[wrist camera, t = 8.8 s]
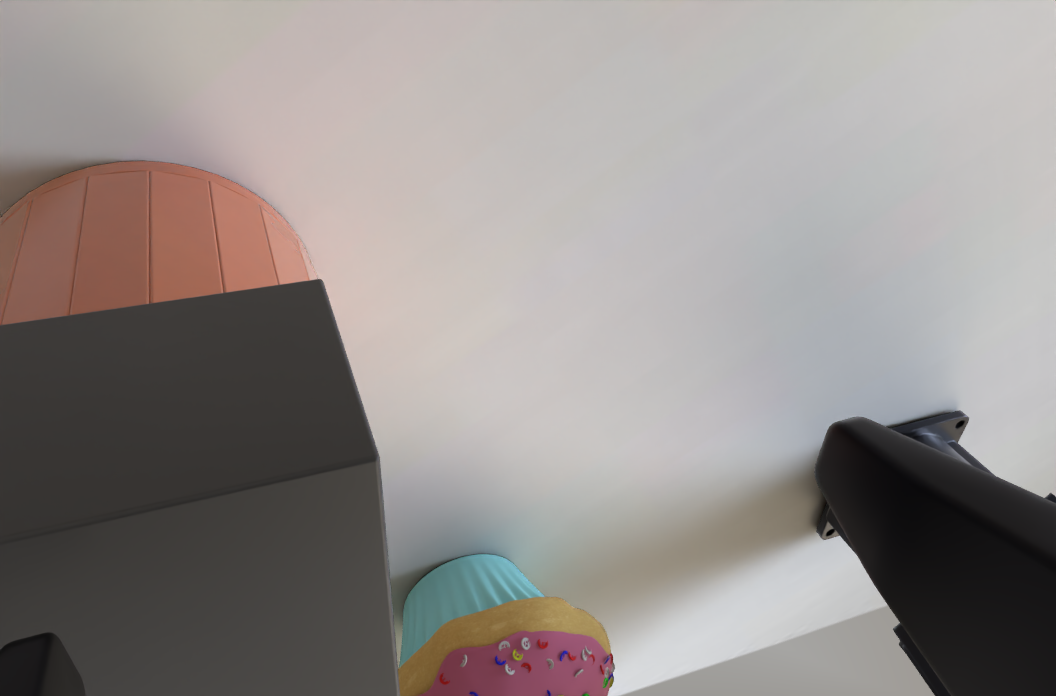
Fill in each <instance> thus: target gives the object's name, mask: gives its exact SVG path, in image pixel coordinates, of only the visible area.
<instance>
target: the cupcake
mask: <svg viewBox="0 0 1056 696" xmlns="http://www.w3.org/2000/svg"><path fill="white" fill-rule="evenodd" d="M614 669H615V666H614V663H613V655H612V653H611V649H610V643H609V639H608V636H607V634H606V631H605V629H604V628H603V626H602V625H601V624H600V623H599V622H598V621H597V620H596V619H595V618H594V617H593V616H591V615H590V614H589V613H587V612H586V611H584V610H581V609H578V608H573V607H572V606H570V605H569V604H568V603H567V602H566V601H564V600H563V599H561V598H558V597H545V596H544V595H543V594H542V593H541V592H540V591H539V590H538V589H537V588H536V587H535V586H534V585H533V584H532V583H531V582H530V581H529V580H528V579H527V578H526V577H525V576H524V575H523V574H522V573H521V572H520V570H519V569H518V568H517V567H516V566H515V565H514V564H513V563H512V562H511V561H509V560H507V559H506V558H503V557H501V556H497V555H491V554H476V555H469V556H465V557H461V558H458V559H455V560H452V561H450V562H447V563H445V564H443V565H441V566H439V567H437V568H436V569H434V570H433V571H431V572H430V573H428V574H427V575H426V576H424V577H423V578H422V579H421V580H420V581H419V582H418V583H417V584H416V585H415V586H414V588H413V589H412V590H411V592H410V593H409V595H408V597H407V599H406V601H405V605H404V610H403V633H402V647H401V656H400V664H399V669H398V677H399V688H400V696H607V695H608V691H609V688H610V687H611V686H612V684H613V681H614V677H613V673H612V672H614Z"/></svg>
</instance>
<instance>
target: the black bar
mask: <svg viewBox="0 0 1056 696" xmlns="http://www.w3.org/2000/svg"><path fill="white" fill-rule="evenodd" d="M47 632H51V633H54V634H55V635H57V636H58V637H59V639H60V640H61V642H62V644H63V646H64V647H65V649H66V651H67V653H68V654H69V656H70V658H71V660H72V661H73V663H74V665H75V667H76V669H77V670H78V672H79V674H80V676H81V678H82V681H83V684H84V688H85V694H86V696H400V688H399V677H398V665H397V654H396V642H395V630H394V619H393V607H392V596H391V584H390V572H389V561H388V549H387V538H386V526H385V514H384V503H383V491H382V480H381V468H380V457H379V454H378V451H377V448H376V445H375V442H374V438H373V435H372V432H371V429H370V426H369V423H368V420H367V417H366V414H365V410H364V407H363V404H362V401H361V398H360V395H359V392H358V389H357V386H356V382H355V379H354V376H353V373H352V370H351V367H350V364H349V361H348V358H347V354H346V351H345V348H344V345H343V342H342V339H341V336H340V333H339V330H338V326H337V323H336V320H335V317H334V314H333V311H332V308H331V305H330V302H329V298H328V295H327V292H326V289H325V286H324V283H323V281H322V280H321V279H315V280H308V281H301V282H294V283H287V284H280V285H274V286H267V287H260V288H253V289H246V290H239V291H232V292H225V293H218V294H212V295H205V296H198V297H191V298H184V299H177V300H170V301H163V302H156V303H150V304H143V305H136V306H129V307H122V308H115V309H108V310H101V311H94V312H88V313H81V314H74V315H67V316H60V317H53V318H46V319H39V320H32V321H26V322H19V323H12V324H5V325H0V649H1V648H2V647H4V646H5V645H6V644H8V643H10V642H12V641H15V640H19V639H23V638H27V637H31V636H34V635H38V634H42V633H47Z"/></svg>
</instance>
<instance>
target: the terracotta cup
mask: <svg viewBox="0 0 1056 696" xmlns="http://www.w3.org/2000/svg"><path fill="white" fill-rule="evenodd" d="M315 279H318V277H317V274H316V272H315V270H314V268H313V266H312V264H311V261H310V258H309V256H308V253H307V251H306V249H305V247H304V246H303V244H302V242H301V240H300V238H299V237H298V235H297V234H296V233H295V231H294V230H293V229H292V227H291V226H290V225H289V224H288V222H287V221H286V220H285V219H284V218H283V217H282V216H281V215H280V214H279V213H278V212H277V211H276V210H275V209H274V208H273V207H272V206H270V205H269V204H268V203H266V202H265V201H264V200H262V199H261V198H260V197H258V196H257V195H256V194H254V193H252V192H251V191H249V190H247V189H245V188H244V187H242V186H240V185H239V184H237V183H235V182H232V181H230V180H228V179H225V178H223V177H221V176H219V175H216V174H213V173H210V172H207V171H203V170H200V169H197V168H194V167H188V166H183V165H178V164H172V163H164V162H151V161H131V162H116V163H109V164H102V165H96V166H92V167H88V168H84V169H81V170H77V171H73V172H70V173H68V174H65V175H63V176H60V177H58V178H56V179H53V180H51V181H48V182H47V183H45V184H43V185H42V186H40V187H38V188H36V189H35V190H33V191H31V192H30V193H28V194H27V195H25V196H24V197H23V198H22V199H20V200H19V201H18V202H17V203H15V204H14V205H13V206H12V207H10V208H9V209H8V211H7V212H6V213H5V214H4V215H3V216H2V217H1V218H0V325H5V324H12V323H19V322H26V321H32V320H39V319H46V318H53V317H60V316H67V315H74V314H81V313H88V312H94V311H101V310H108V309H115V308H122V307H129V306H136V305H143V304H150V303H156V302H163V301H170V300H177V299H184V298H191V297H198V296H205V295H212V294H218V293H225V292H232V291H239V290H246V289H253V288H260V287H267V286H274V285H280V284H287V283H294V282H301V281H308V280H315Z"/></svg>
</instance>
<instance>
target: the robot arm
mask: <svg viewBox="0 0 1056 696" xmlns="http://www.w3.org/2000/svg"><path fill="white" fill-rule="evenodd" d="M968 421H969V417H968V416H967V415H965V414H964V413H963V412H962V411H955V412H951V413H947V414H944V415H940V416H936V417H932V418H928V419H925V420H921V421H917V422H913V423H909V424H906V425H902V426H898V427H894V428H890V429H889V428H887V427H885V426H883V425H881V424H878V423H876V422H874V421H872V420H869V419H867V418H864V417H853V418H849V419H846V420H842V421H838V422H835V423H833V424H832V425H831V426H830V427H829V429H828V430H827V433H826V436H825V439H824V441H823V444H822V447H821V450H820V453H819V456H818V459H817V461H816V464H815V478H816V481H817V484H818V486H819V488H820V490H821V492H822V494H823V495H824V497H825V499H826V501H827V505H826V507H825V510H824V512H823V515H822V517H821V519H820V522H819V524H818V527H817V530H816V532H817V533H818V534H819V536H820V537H821V538H822V539H824V540H826V539H830V538H833V537H836V536H841V537H842V539H843V540H844V541H845V542H846V543H847V544H848V545H849V547H850V548H851V549H852V550H853V551H854V552H855V553H856V555H857V556H858V558H859V559H860V561H861V563H862V565H863V566H864V568H865V570H866V572H867V573H868V575H869V577H870V578H871V580H872V582H873V583H874V585H875V586H876V588H877V589H878V591H879V592H880V594H881V596H882V597H883V599H884V600H885V602H886V603H887V604H888V606H889V607H890V609H891V610H892V612H893V613H894V614H895V616H896V617H897V618H898V620H899V622H900V623H899V624H898V625H897V626H896V627H895V628H893V630H894V632H895V633H896V635H897V636H898V638H899V639H900V643H899V645H900V647H901V648H902V649H903V650H904V652H905V653H906V654H907V656H908V657H909V658H910V660H911V661H912V663H913V664H914V666H915V667H916V669H917V670H918V672H919V673H920V674H921V676H922V677H923V679H924V680H925V682H926V683H927V684H928V686H929V688H930V689H931V690H932V692H933V693H934V695H935V696H1056V497H1055V496H1054V495H1053V494H1052V493H1050V494H1049V495H1048V496H1047V497H1045V498H1043V497H1041V496H1038V495H1036V494H1034V493H1032V492H1030V491H1027V490H1025V489H1023V488H1021V487H1018V486H1016V485H1014V484H1012V483H1010V482H1007V481H1005V480H1003V479H1001V478H998V477H996V476H995V475H994V474H992V473H991V472H990V471H989V470H988V469H987V468H986V467H984V466H983V465H982V464H981V463H980V462H979V461H978V460H976V459H975V458H974V457H973V456H972V455H971V454H970V453H968V452H967V451H966V450H965V449H964V448H963V447H961V446H960V445H959V444H958V441H959V439H960V437H961V435H962V433H963V431H964V429H965V427H966V425H967V423H968ZM0 696H86V694H85V688H84V684H83V681H82V678H81V676H80V674H79V672H78V670H77V669H76V667H75V665H74V663H73V661H72V660H71V658H70V656H69V654H68V653H67V651H66V649H65V647H64V646H63V644H62V642H61V640H60V639H59V637H58V636H57V635H55V634H54V633H51V632H47V633H42V634H38V635H34V636H31V637H27V638H23V639H19V640H15V641H12V642H10V643H8V644H6V645H5V646H4V647H2V648H1V649H0Z"/></svg>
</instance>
